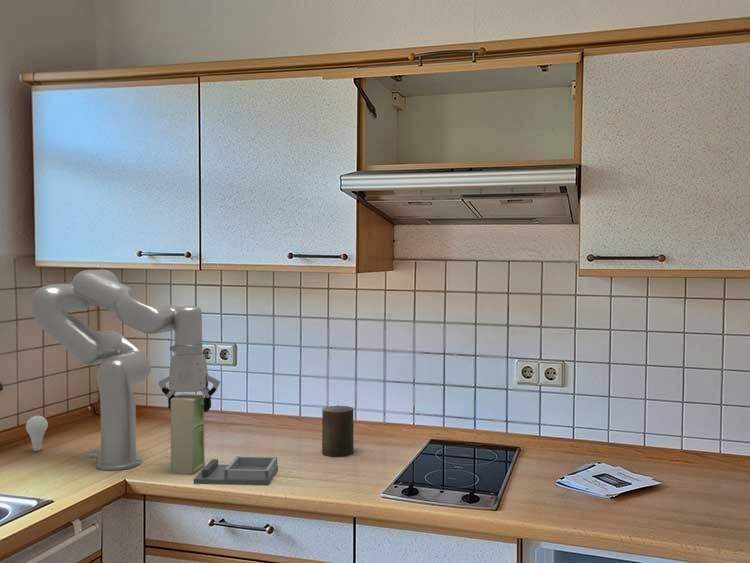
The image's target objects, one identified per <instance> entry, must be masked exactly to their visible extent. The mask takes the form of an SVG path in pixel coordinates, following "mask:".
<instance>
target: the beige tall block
mask: <svg viewBox="0 0 750 563" xmlns="http://www.w3.org/2000/svg"><path fill="white" fill-rule="evenodd" d="M175 396H176V397H173V398H171V412H170V473H171V474H177V475H179V474H181V475H194V474H196V472H198V471H199V470H202V469H203V468H204V467H205V466H206V464H205V463H206V462H205V458H206V456H205V454H206V453H205V448H206V447H205V412H204V398H205V395H204V394H203V393H192V392H182V393H181V394H179V395H175Z"/></svg>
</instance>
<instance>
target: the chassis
mask: <svg viewBox="0 0 750 563" xmlns="http://www.w3.org/2000/svg"><path fill="white" fill-rule="evenodd" d="M278 471H279V465H278V457H277V456H239V455H238V456H237V455H236V456H235V457H234V458H233V459H232V461H231V462H230V463H229V464H219V459H218V458H212V459H211V460H210V461H209V462H208V463H207V464H205V465H204V467H203V468H201V471H200V472H199V473H198V474H197V475H196V476H195V477H194V478H193V484H197V485H201V484H203V485H250V486H269V485H270V484H271V482H272V480H273V479H274V477H275V475H276V474H277V472H278Z"/></svg>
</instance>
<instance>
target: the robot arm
mask: <svg viewBox="0 0 750 563" xmlns="http://www.w3.org/2000/svg"><path fill="white" fill-rule="evenodd" d="M92 305H97V306H99V307H101V308H102V309H105V310H107V311H108V312H109V311H110V312H111V313H113V314H114V315H115V317H117V319H118V320H119V321H120V322H121V323H122V324H124V325H126V326H127V327H130V328H132V329H134V330H137V331H138V332H141V333H145V334H147V335H156V334H161V333H167V332H168V333H169V332H171V331H172V332H173V331H174V332H173V334H174V335H173V337H174V344H173V345H172V346H170V347H169V352H173V355H171V357H170V358H171V359H170V365H169V376H167V377H165V378H164V379H161V380H159V381H158V385H159V387H160V389H161V392H162V393H163V394H164V395H165V396H166V398H167V402H168V403H167V405H168V409H169V412H170V413H171V398H173V397H176V396H177V395H175V394H176V393H181V392H182V393H194V392H195V393H197V392H198V393H199V392H200V393H201V394H204V413H207V412H209V411H210V409H211V408H212V396H213V395H214V394H215V393H216V392H217V390H218V388H219V386H220V385H221V380H219V379H218V378H215V377H213V376H211V375H209V372H208V371H209V370H208V362H207V359H206V355H205V354H203V320H202V319H203V318H202V317H203V316H202V315H203V314H202V313H203V312H202V309H201V307H200V306H194V305H190V306H189V305H186V306H185V305H183V306H178V305H172V304H165V305H155V306H150V305H147V304H144V303H142V302H140V301H139V300H136V299H134V298H133V290H132V289H131V287H130V286H128V285H127V284H124V283H122V282H120V281H119V279H118V277H117V275H116V274H115V273H114V272H113V271H110V270H107V269H85V270H82V271H79V272H77V273H76V274H75V275H74V277H73V279H72V281H71V282H69V283H53V284H47V285H43V286H41V287H39V288H38V289H36V290H35V291H34V293H33V294H32V296H31V301H30V308H31V309H30V310H31V314H32V316H33V318H34V320H35V322H36V324H37V325H38V326H39V327H40V328H41V329H42V330H43V331H44V332H45V333H47V334H48V335H50V336H51V337H52V338H53V339H54V340H56V341H57V342H58V343H59V344H60V345H62V347H63V348H65V350H67V352H69V353H71V354H72V355H73V357H75V358H76V359H78V361H80V362H81V363H82V364H84V365H88V366H93V365H98V367H97V370H96V382H97V385H98V386H97V387H98V391H99V399H100V400H99V401H100V448H99V449H95V448H94V449H92V448H91V449H88V452H87V453H88V454H87V455H88V458H90V459H91V458H93V459H94V458H96V459H97V460H96V462H95V468H97V469H99V470H103V471H121V470H127V469H131V468H134V467H137V466H140V464H142V462H143V458H142V456H140V455H137V413H136V412H137V408H136V404H137V403H136V398H135V395H134V392H133V388H132V386H133V385H136V384H139V383H142V382H144V381H145V380H147V379H148V377H149V376H150V375H151V371H152V365H151V361H150V359H149V358H148V356H147V355H146V354H145V353H144V352H143V351H142V350H140V349H139V348H138V347H137V346H136V345H135V344H133V343H132V342H131V341H130V340H129V339H127V338H126V337H125V336H124V335H123V334H122V333H120V332H118V331H115V330H111V329H110V330H109V329H105V330H93V329H92V328H90V327H89V326H88V325H86V324H85V323H84V322H83V321H82V320H81V319H79V318H77V317H76V316H73V315H71V314H70V313H69V312H76V311H81V310H83V309H86V308H89V307H90V306H92ZM167 383H168V387H167ZM209 383H211V384H213V385H212V387H211V389H210V388H209Z"/></svg>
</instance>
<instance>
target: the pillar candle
mask: <svg viewBox="0 0 750 563" xmlns="http://www.w3.org/2000/svg"><path fill="white" fill-rule="evenodd" d="M321 416H322V418H321V420H322V421H321V423H322V424H321V426H322V429H321V432H322V434H321V447H322V448H321V450H322V454H323V455H325V456H328V457H334V458H335V457H336V458H337V457H347V456H348V455H349V456H351V455H353V454H354V441H355V440H354V407H352V406H348V405H339V404H336V405H330V406H324V407H322V415H321ZM349 456H348V457H349Z"/></svg>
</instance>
